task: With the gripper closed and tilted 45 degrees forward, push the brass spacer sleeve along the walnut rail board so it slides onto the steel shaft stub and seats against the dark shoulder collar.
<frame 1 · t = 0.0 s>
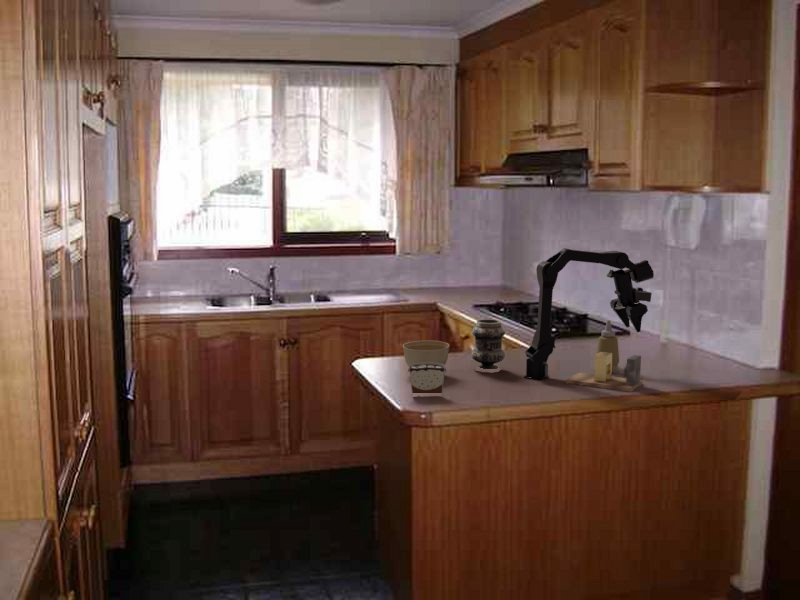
hand: (633, 329, 300), 15 cm above the worktop, tool pointing down, fingers open, 9 cm apart
squeeze bottle: (607, 371, 306), on the worktop
apothecary jar: (487, 370, 308), on the worktop
food container: (426, 395, 276), on the worktop
spacer: (603, 366, 288), point 6 cm above the worktop, slide at 0.0 cm
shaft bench: (604, 383, 288), on the worktop
planter bowl: (426, 376, 301), on the worktop
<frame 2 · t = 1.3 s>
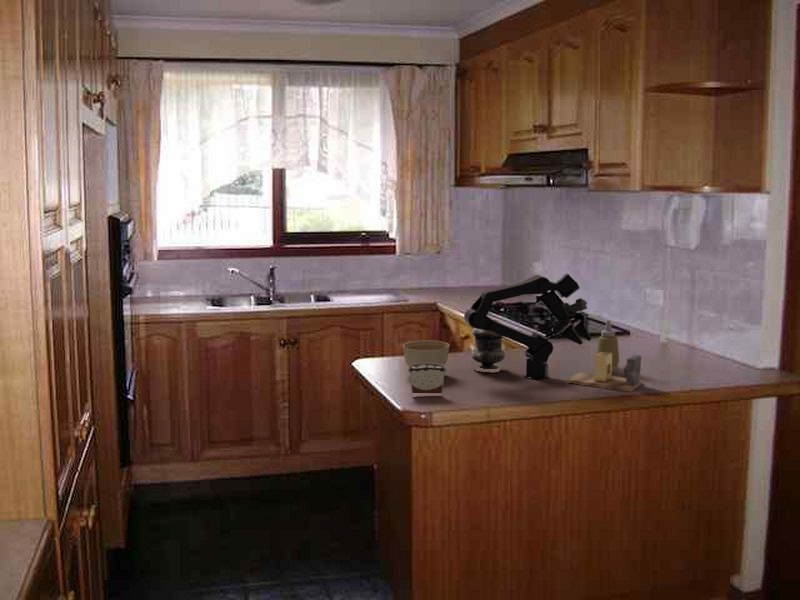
hand: (586, 341, 290), 13 cm above the worktop, tool tilted 45°, fingers open, 8 cm apart
nothing on the worktop moved.
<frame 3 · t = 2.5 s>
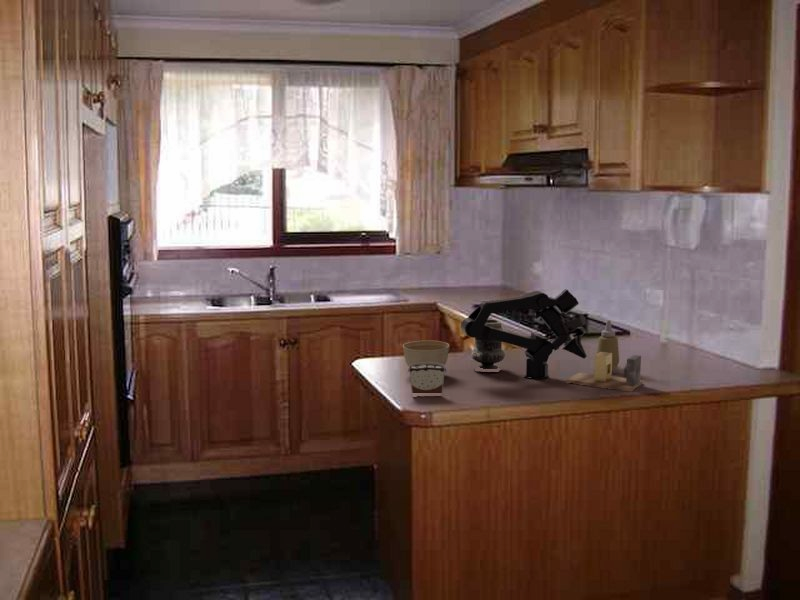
hand: (585, 357, 290), 8 cm above the worktop, tool tilted 45°, fingers closed
nothing on the worktop moved.
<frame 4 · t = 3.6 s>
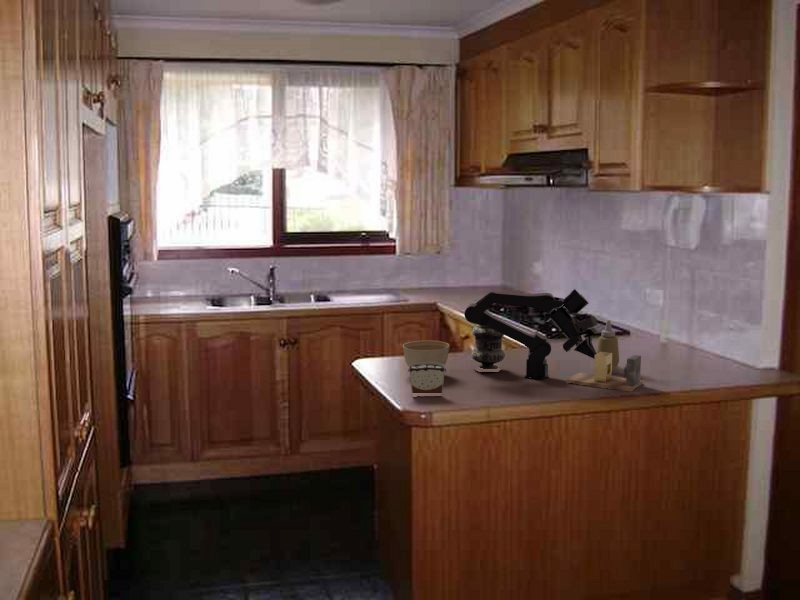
hand: (597, 358, 288), 8 cm above the worktop, tool tilted 45°, fingers closed, pressing on spacer
spacer: (603, 366, 287), point 6 cm above the worktop, slide at 0.0 cm, touching gripper
everything else where it was.
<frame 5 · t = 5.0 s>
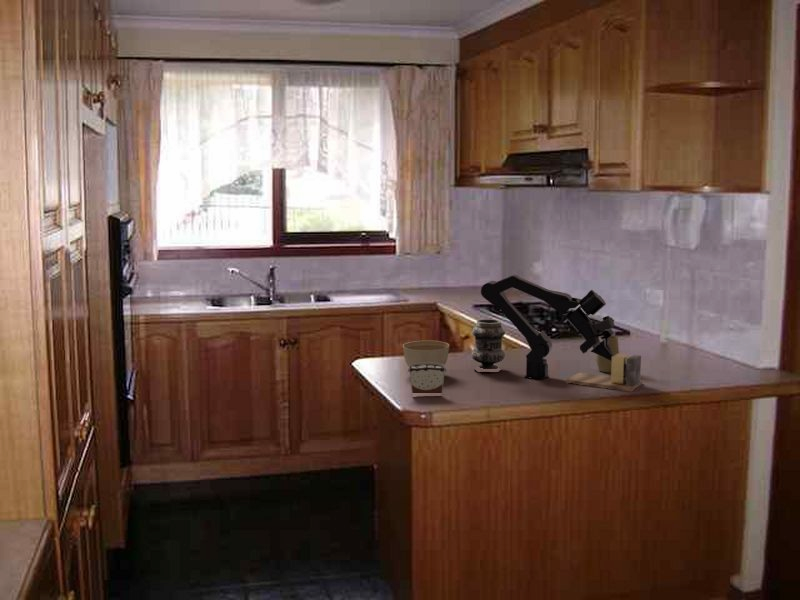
hand: (613, 360, 285), 8 cm above the worktop, tool tilted 45°, fingers closed, pressing on spacer
spacer: (620, 368, 284), point 6 cm above the worktop, slide at 5.8 cm, touching gripper, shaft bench
everything else where it was.
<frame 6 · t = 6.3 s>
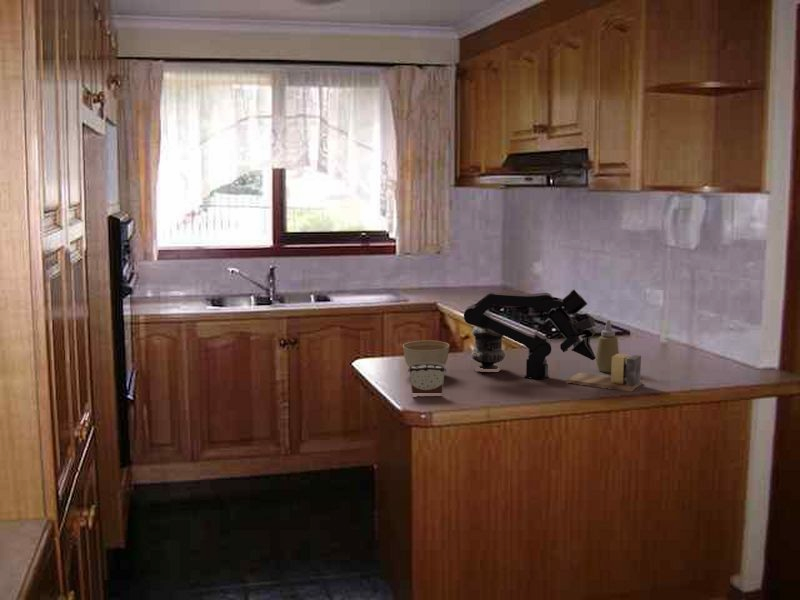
hand: (594, 359, 289), 8 cm above the worktop, tool tilted 45°, fingers closed
spacer: (620, 368, 284), point 6 cm above the worktop, slide at 5.8 cm, touching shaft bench
everything else where it was.
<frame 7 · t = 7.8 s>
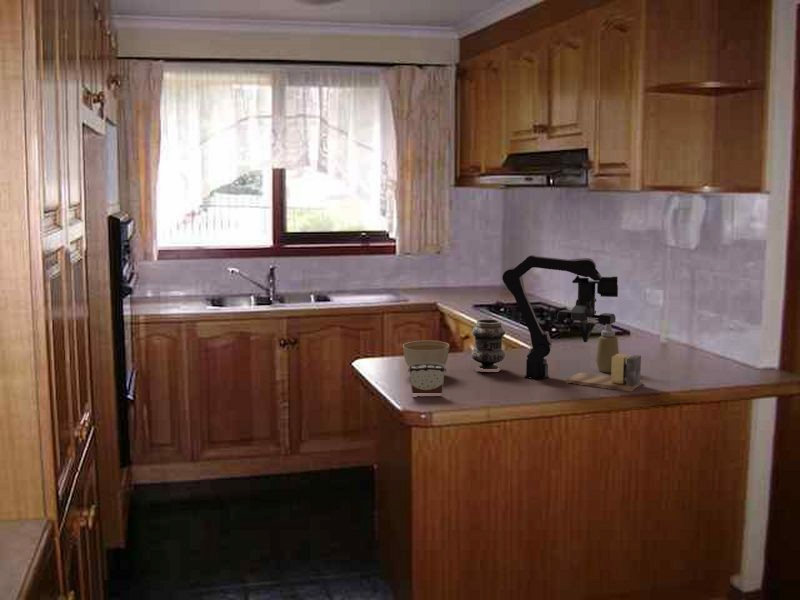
hand: (585, 342, 292), 13 cm above the worktop, tool pointing down, fingers closed
nothing on the worktop moved.
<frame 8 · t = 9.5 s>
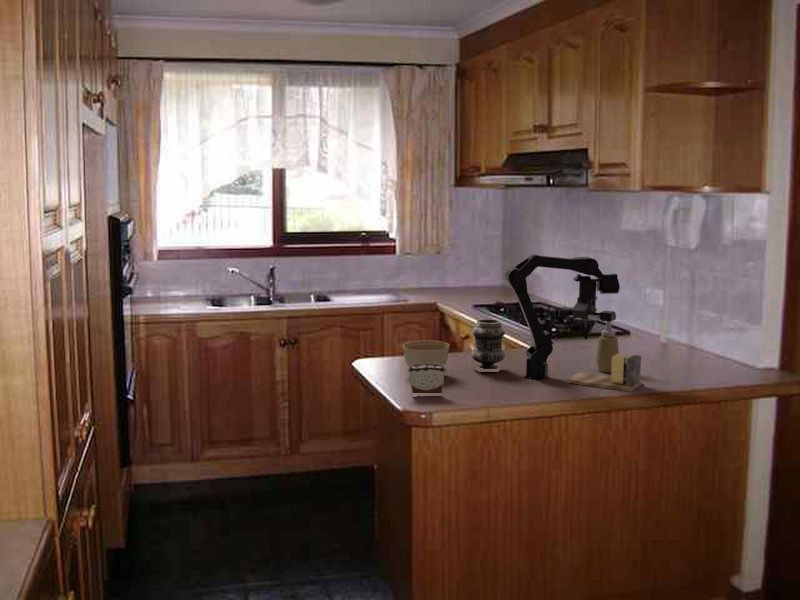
hand: (586, 339, 297), 13 cm above the worktop, tool pointing down, fingers closed
nothing on the worktop moved.
at the end: spacer slide at 5.8 cm; spacer 0.1 cm from the target spot, resting on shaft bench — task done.
